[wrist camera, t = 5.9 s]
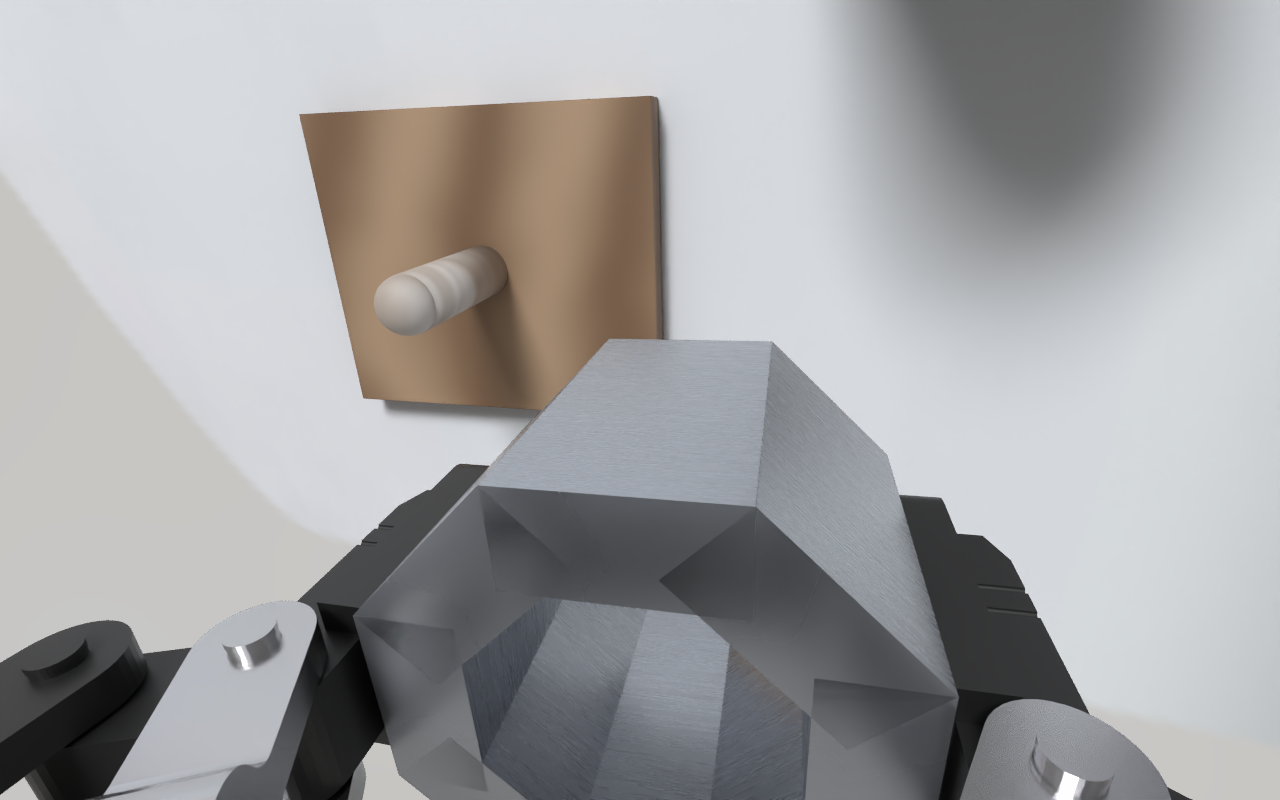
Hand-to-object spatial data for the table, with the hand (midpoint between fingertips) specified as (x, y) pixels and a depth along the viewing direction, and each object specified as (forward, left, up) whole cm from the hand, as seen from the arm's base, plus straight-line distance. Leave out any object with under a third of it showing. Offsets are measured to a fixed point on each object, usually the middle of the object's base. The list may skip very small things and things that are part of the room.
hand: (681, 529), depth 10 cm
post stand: (+10, -1, -16) cm, 19 cm away
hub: (0, 0, -1) cm, 1 cm away
